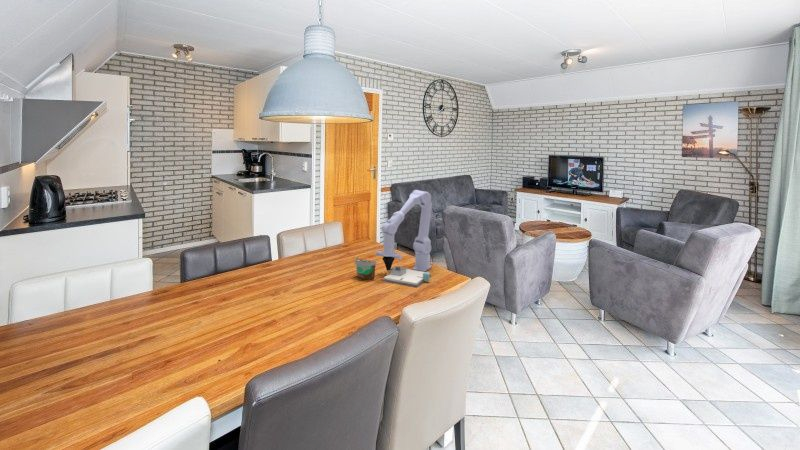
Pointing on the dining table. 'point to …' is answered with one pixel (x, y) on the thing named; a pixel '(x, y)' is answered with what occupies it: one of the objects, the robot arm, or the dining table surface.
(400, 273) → the cover
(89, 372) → the dining table surface
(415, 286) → the susan base
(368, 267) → the food container
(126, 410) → the dining table surface
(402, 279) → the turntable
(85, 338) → the dining table surface
